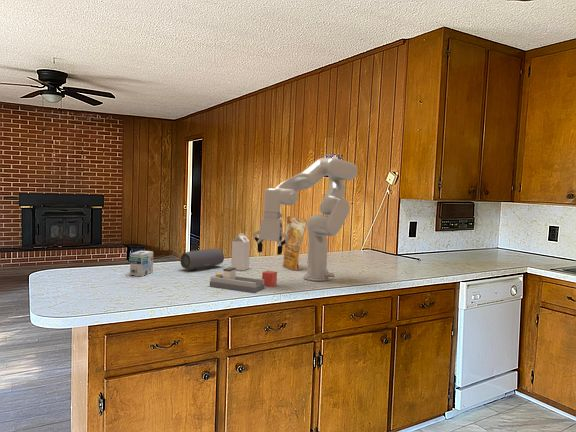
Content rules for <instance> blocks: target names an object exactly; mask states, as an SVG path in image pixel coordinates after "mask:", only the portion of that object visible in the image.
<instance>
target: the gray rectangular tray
mask: <svg viewBox="0 0 576 432" xmlns="http://www.w3.org/2000/svg"><path fill="white" fill-rule="evenodd" d="M209 278H210V279H209V287H211V288H212V287H213V288H219V289H224V290H225V289H226V290H231V291H239V292H245V293H253V294H255V293H256V292H257V293H258V292H259V291H261V290H263V289H265V287H266V286H265V284H264V279H262V278H255V277H249V276H248V277H247V276H243V275H242V276H240V275H236V277H235V280H232V279H225V278H223V272H216V273H215V275H213V276H211V277H209Z"/></svg>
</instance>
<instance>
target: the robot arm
mask: <svg viewBox="0 0 576 432" xmlns="http://www.w3.org/2000/svg"><path fill="white" fill-rule="evenodd" d="M357 175H358V167H357V166H356V164H355V163H353V162H350V161H346V160H342V159H339V158H335V157H321V158H317V159H316V160H315V161H314V162H312V163H311V164H310V165H309V166H307V167H306V168H305V169H304V170H302V171H301V172H300V173H298V174H296V175H293V176H292V177H289V178H287V179H285V180H283V182H280V183H279V184H278V185H277V186H276V187H275V188H273V187H270V188H269V187H267V188H265V189H264V196H263V197H264V198H263V213H262V214H263V216H262V218H261V221H260V225H259V230H258V231H256V232H253V233H252V236H253V238H254V240H255V242H256V244H257V253H263V249H264V248H263V241H268V242H276V243H277V244H278V245H277V252H276V254H277V256H279V255H282V253H283V248H284V246H285V243H286V242H287V240H288V238H289V237H288V236H287V235H286V233H284V231H283V229H284V228H283V220H282V218H283V217H284V215H283V214H282V213H281V206H282V205H284V206H292V205H295V204H296V203H298V200H299V194H298V192H299V191H304V190H308V189H310V188H312V187H314V186H315V185H316V184H317V183H318V182H320V181H321V180H322V179H323V178H325V177H326V176H328V180H329V187H328V189H327V191H326V193H325V195H324V198H323V199H322V200H321V203H320V204H319V212H320V213H321V214H314V215H312V216H310V217H309V218H308V219H307V222H306V228H307V229H306V230H307V235H308V245H307V247H308V248H307V250H308V251H307V269H306V271H307V272H306V274H304V275H303V278H304V279H305V280H307V281H313V282H326V281H329V280H330V278H335V273H334V272H329V269H327V268H328V267H327V266H328V248H329V245H328V244H329V242H328V238H327V237H335V236H336V235H338V234H339V233H340V231H341V229H342V227H343V226H344V223H345V221H346V220H347V217H348V216H349V213H350V208H351V207H350V206H351V205H350V202H349V200H348V199H346V198H344V197H345V195H346V186H345V185H346V184H345V181H352V180H355V178H356V177H357Z"/></svg>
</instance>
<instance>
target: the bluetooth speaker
mask: <svg viewBox="0 0 576 432" xmlns="http://www.w3.org/2000/svg"><path fill="white" fill-rule="evenodd" d="M224 259H225V255H224V252H223V250H222V249H221V248H220V249H219V248H208V249H198V250H192V251H188V252H187V251H186V252H183V253H182V254H181V256H180V259H179V261H180V265H181V267H182V268H183V269H185V270H194V271H201V270H206V269H211V268H212V267H214V266H217V265H221V264H223V262H224Z"/></svg>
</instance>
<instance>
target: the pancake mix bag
mask: <svg viewBox="0 0 576 432" xmlns="http://www.w3.org/2000/svg"><path fill="white" fill-rule="evenodd" d="M285 219H286V224H285V225H286V227H285V235H287V236H288V237H289V238H288V240H287V242H286V243H285V244H284V252H283V253H284V254H283V264H282V266H283V267H284V268H285V269H288V270H290V271H299V268H300V267H299V258H300V252H301V247H302V242H303V239H304V234H305V230H306V228H307V222H308V220H306V219H304V218H300V217H299V218H298V217H295V216H286V218H285Z"/></svg>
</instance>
